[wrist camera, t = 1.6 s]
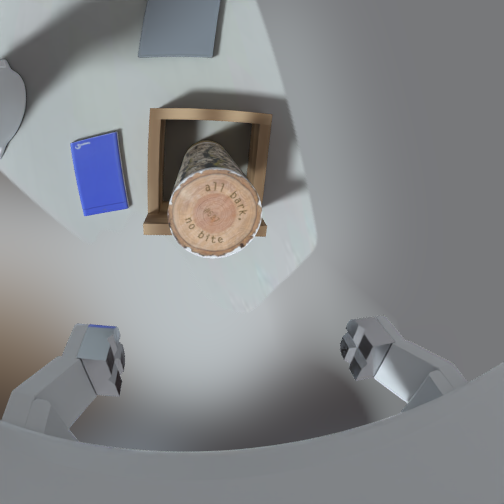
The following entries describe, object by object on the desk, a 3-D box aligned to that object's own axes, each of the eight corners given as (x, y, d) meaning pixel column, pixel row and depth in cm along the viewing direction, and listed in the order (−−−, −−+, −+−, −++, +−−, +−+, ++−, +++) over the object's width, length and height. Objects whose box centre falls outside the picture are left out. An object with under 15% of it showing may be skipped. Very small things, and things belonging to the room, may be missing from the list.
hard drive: (69, 143, 35) (83, 216, 41) (115, 131, 36) (128, 208, 42) (73, 142, 36) (86, 213, 42) (118, 131, 38) (130, 205, 43)
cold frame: (154, 210, 44) (143, 234, 35) (156, 109, 37) (144, 107, 28) (252, 212, 47) (265, 236, 38) (262, 114, 40) (280, 114, 31)
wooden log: (208, 130, 40) (220, 148, 18) (237, 162, 43) (280, 218, 21) (174, 160, 41) (147, 214, 19) (204, 191, 44) (211, 274, 22)
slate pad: (139, 57, 32) (137, 56, 32) (149, -2, 28) (148, -4, 27) (212, 57, 35) (212, 56, 34) (220, -2, 30) (221, -4, 29)
